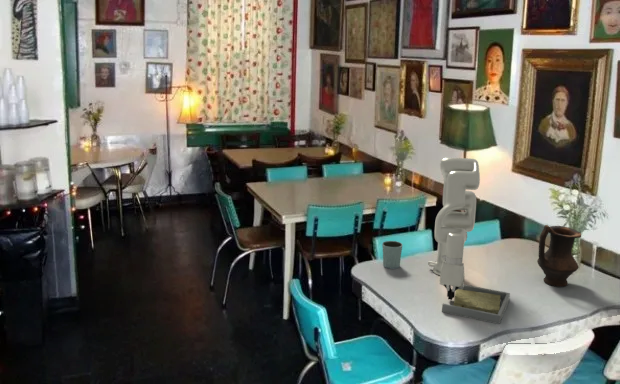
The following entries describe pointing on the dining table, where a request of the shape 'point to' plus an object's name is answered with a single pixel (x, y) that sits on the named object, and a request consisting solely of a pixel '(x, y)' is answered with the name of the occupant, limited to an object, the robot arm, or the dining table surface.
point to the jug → (557, 254)
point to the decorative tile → (477, 301)
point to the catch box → (475, 313)
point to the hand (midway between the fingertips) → (450, 298)
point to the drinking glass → (391, 254)
